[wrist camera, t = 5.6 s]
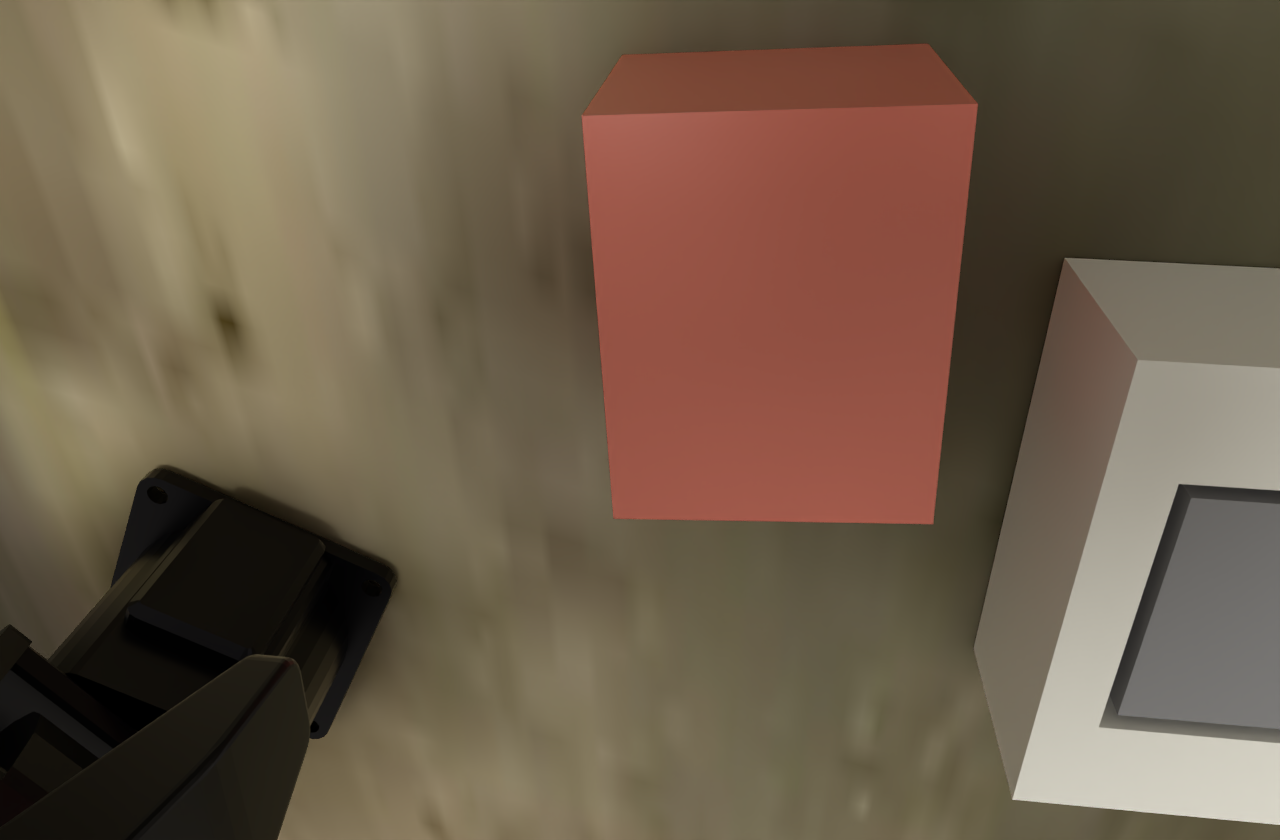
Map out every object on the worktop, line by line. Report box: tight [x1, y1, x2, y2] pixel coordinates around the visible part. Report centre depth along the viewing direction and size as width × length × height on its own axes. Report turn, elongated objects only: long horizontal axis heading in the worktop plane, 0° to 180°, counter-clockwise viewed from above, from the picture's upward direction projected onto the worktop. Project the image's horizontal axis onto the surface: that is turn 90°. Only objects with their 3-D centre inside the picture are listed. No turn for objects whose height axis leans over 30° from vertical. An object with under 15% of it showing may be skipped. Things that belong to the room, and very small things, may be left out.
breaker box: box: [974, 258, 1280, 825], centre depth 20 cm, size 10×7×4 cm
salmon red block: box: [582, 44, 978, 524], centre depth 18 cm, size 7×6×5 cm
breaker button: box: [1109, 484, 1280, 729], centre depth 19 cm, size 5×4×3 cm
